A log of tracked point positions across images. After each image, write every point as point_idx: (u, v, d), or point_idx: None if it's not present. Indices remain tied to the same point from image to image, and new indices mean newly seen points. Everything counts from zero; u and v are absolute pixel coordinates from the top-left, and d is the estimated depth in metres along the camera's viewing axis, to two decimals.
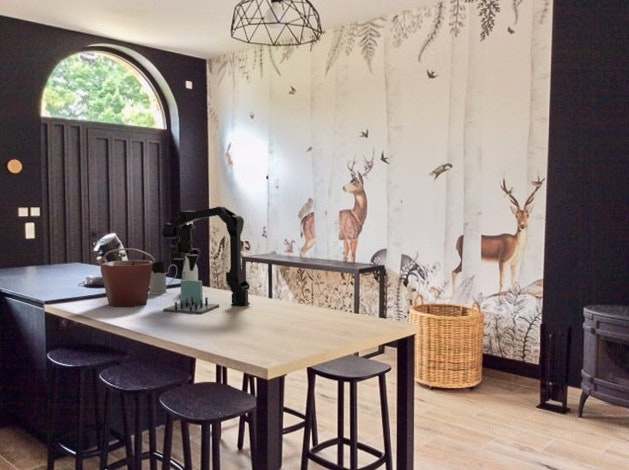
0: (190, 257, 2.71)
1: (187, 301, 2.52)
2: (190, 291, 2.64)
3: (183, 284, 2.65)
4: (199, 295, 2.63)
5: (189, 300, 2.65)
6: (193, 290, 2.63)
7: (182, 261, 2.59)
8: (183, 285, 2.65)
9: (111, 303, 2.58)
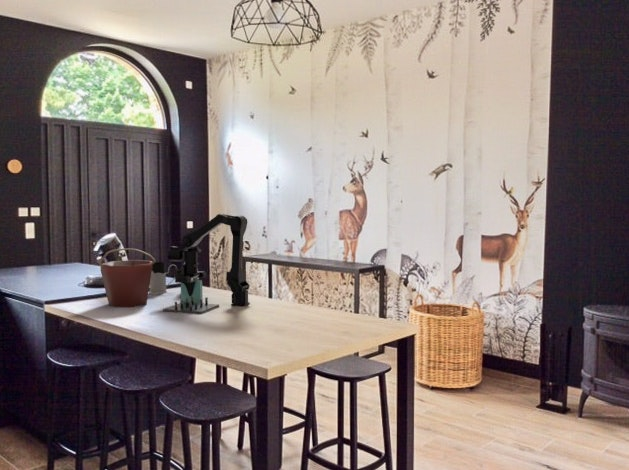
0: None
1: (187, 301, 2.52)
2: None
3: (183, 284, 2.65)
4: (199, 295, 2.63)
5: (189, 300, 2.65)
6: (193, 290, 2.63)
7: (192, 284, 2.61)
8: (183, 285, 2.65)
9: (111, 303, 2.58)
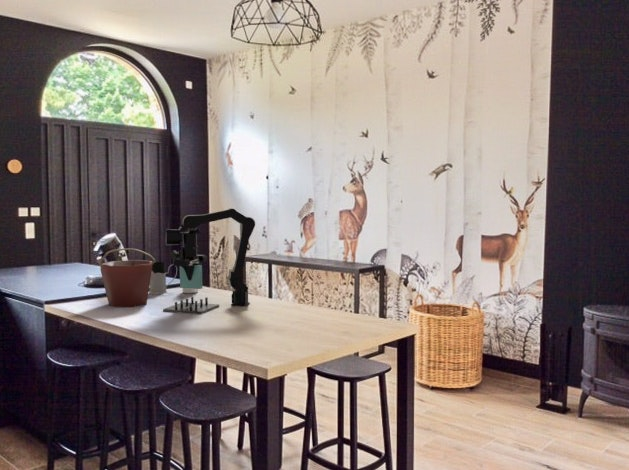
0: (191, 265, 2.53)
1: (187, 301, 2.52)
2: None
3: (182, 269, 2.52)
4: (199, 280, 2.50)
5: (188, 286, 2.52)
6: (193, 275, 2.50)
7: (191, 267, 2.48)
8: (182, 270, 2.52)
9: (111, 303, 2.58)
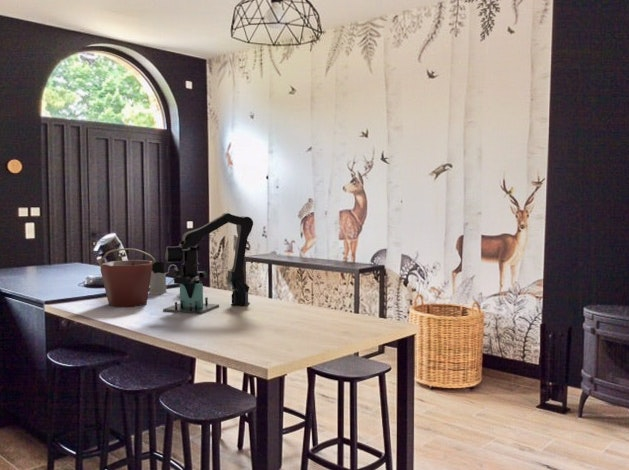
0: None
1: None
2: None
3: (183, 287, 2.49)
4: (199, 299, 2.47)
5: (189, 304, 2.49)
6: (193, 293, 2.48)
7: (192, 285, 2.45)
8: (183, 288, 2.49)
9: (111, 303, 2.58)
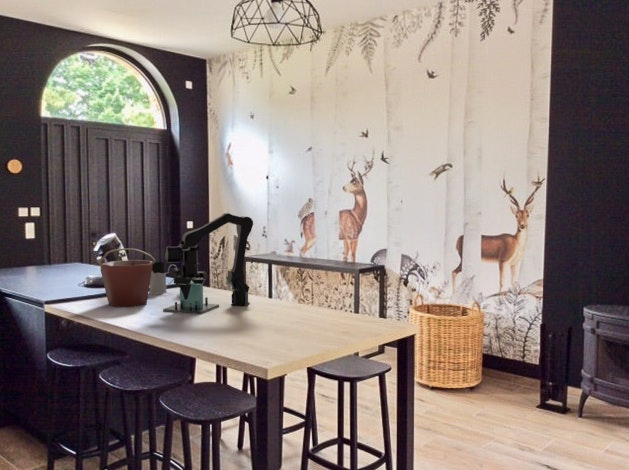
0: (195, 281, 2.54)
1: None
2: (190, 295, 2.48)
3: None
4: (199, 299, 2.47)
5: (189, 304, 2.49)
6: (193, 294, 2.48)
7: (187, 286, 2.42)
8: None
9: (111, 303, 2.58)
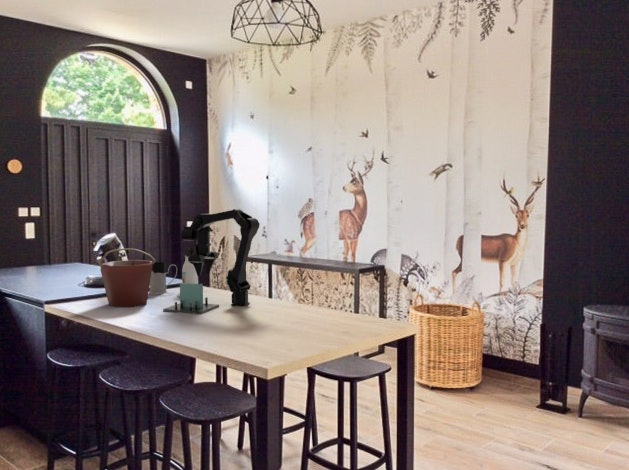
0: (207, 260, 2.71)
1: None
2: (190, 295, 2.48)
3: (183, 288, 2.49)
4: (199, 299, 2.47)
5: (189, 304, 2.49)
6: (193, 294, 2.48)
7: (201, 264, 2.59)
8: (183, 288, 2.49)
9: (111, 303, 2.58)
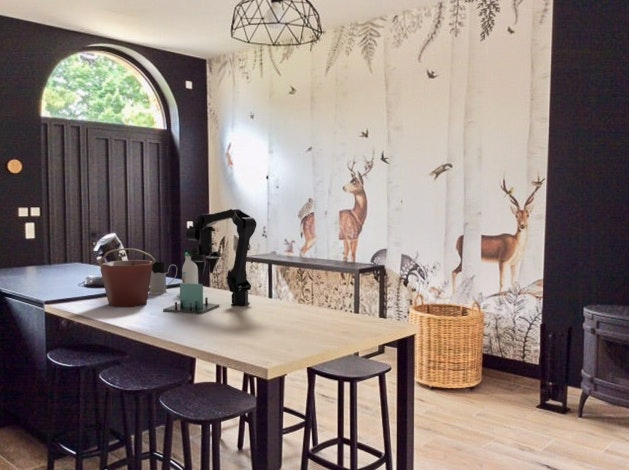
0: (210, 259, 2.74)
1: None
2: (190, 295, 2.48)
3: (183, 288, 2.49)
4: (199, 299, 2.47)
5: (189, 304, 2.49)
6: (193, 294, 2.48)
7: (203, 263, 2.63)
8: (183, 288, 2.49)
9: (111, 303, 2.58)
